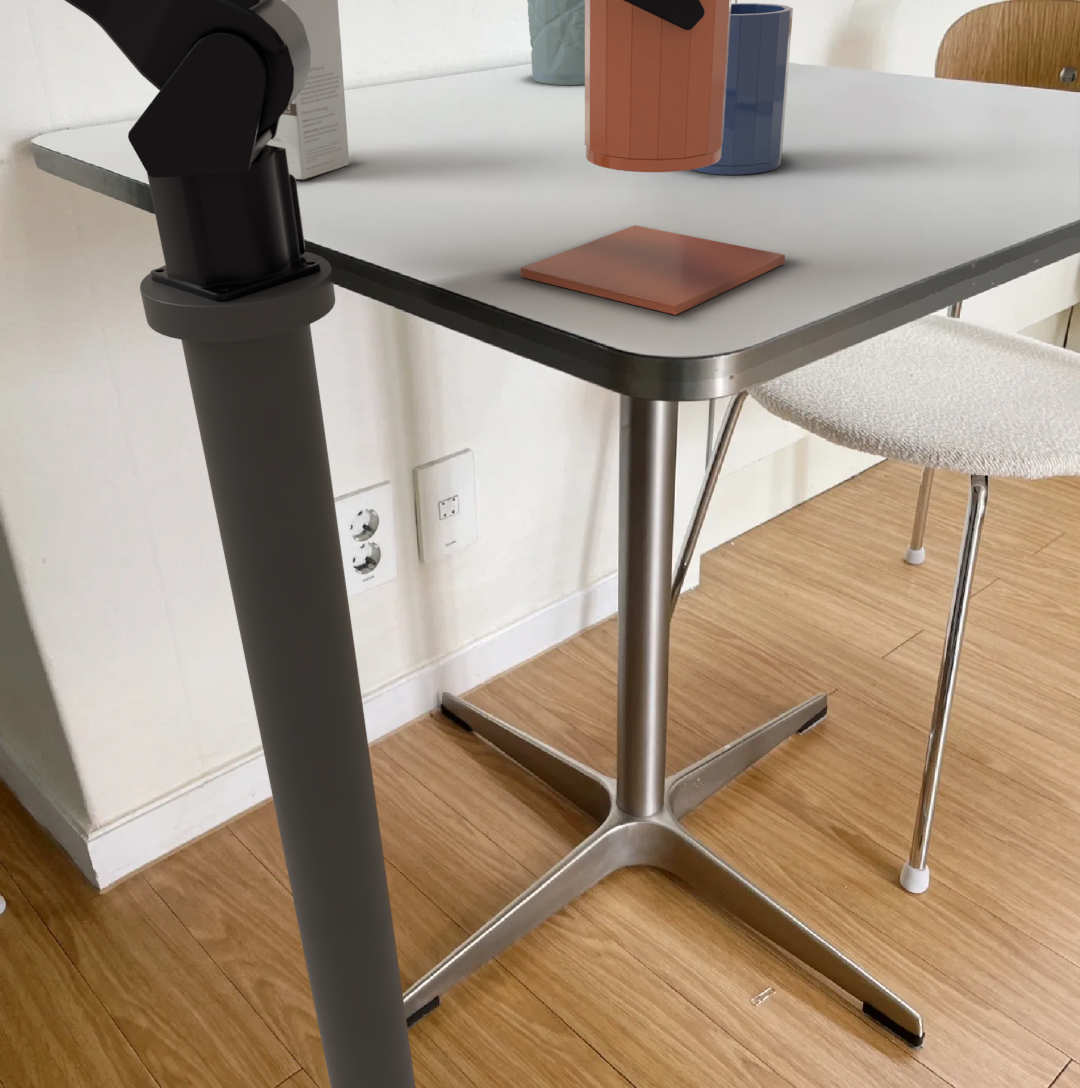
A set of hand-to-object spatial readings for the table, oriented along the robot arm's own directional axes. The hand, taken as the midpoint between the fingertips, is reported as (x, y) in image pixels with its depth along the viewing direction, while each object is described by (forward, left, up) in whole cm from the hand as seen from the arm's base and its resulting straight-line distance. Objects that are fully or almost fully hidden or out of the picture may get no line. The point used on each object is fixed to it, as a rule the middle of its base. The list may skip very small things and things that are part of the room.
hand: (685, 13), depth 55 cm
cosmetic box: (+3, +37, -13) cm, 39 cm away
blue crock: (+22, +11, -12) cm, 28 cm away
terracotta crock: (-1, +1, -7) cm, 7 cm away
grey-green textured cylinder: (+45, +44, -13) cm, 64 cm away
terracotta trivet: (-1, +1, -12) cm, 12 cm away
